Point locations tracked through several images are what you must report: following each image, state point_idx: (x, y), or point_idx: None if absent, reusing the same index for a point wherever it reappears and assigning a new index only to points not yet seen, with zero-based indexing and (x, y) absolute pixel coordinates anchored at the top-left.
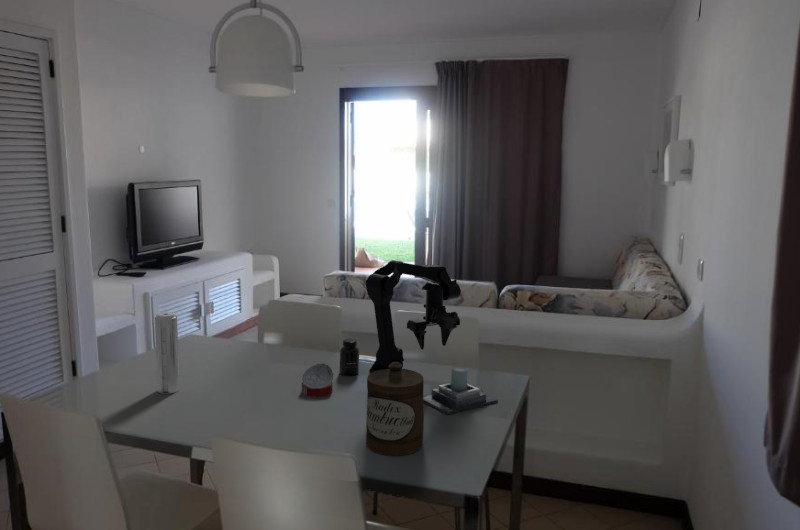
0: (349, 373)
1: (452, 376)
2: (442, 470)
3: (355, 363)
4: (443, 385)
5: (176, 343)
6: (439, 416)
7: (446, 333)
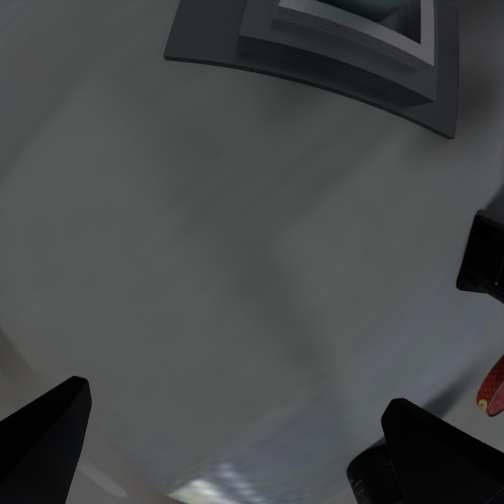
0: None
1: None
2: None
3: (393, 471)
4: (416, 46)
5: None
6: (470, 17)
7: (3, 497)
